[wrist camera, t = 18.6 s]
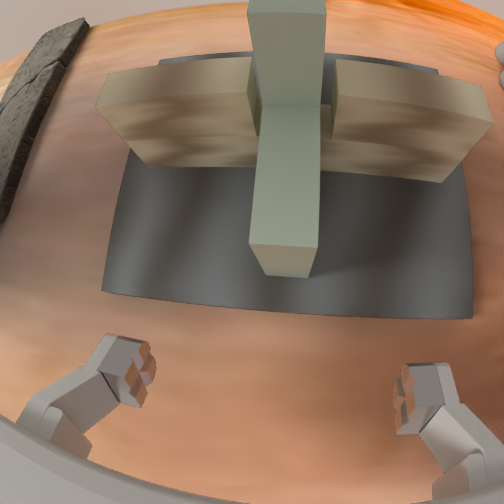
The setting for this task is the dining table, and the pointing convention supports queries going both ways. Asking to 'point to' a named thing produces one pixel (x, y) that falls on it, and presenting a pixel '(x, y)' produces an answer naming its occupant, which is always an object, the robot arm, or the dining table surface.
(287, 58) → the sage slotted plate
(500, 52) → the chubby cartoon animal
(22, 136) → the stone slab
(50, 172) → the dining table surface
